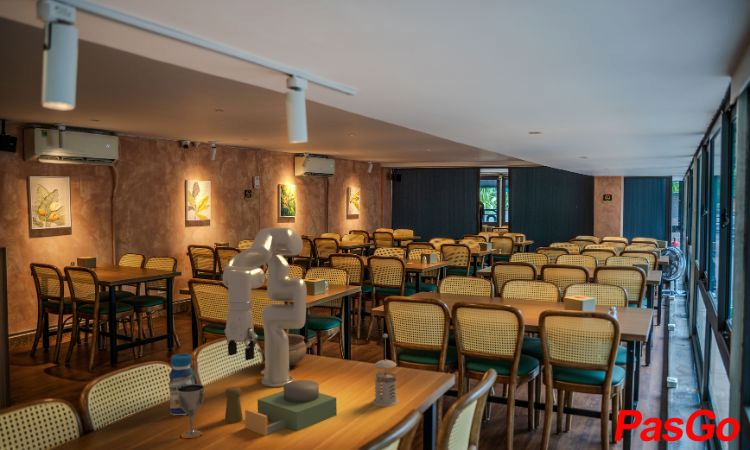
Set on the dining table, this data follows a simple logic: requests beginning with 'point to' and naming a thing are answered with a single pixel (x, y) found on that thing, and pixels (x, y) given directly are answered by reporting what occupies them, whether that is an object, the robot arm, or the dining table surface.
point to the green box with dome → (291, 408)
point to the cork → (233, 405)
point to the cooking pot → (294, 348)
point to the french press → (387, 387)
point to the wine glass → (191, 402)
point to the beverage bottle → (179, 380)
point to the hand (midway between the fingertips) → (241, 357)
